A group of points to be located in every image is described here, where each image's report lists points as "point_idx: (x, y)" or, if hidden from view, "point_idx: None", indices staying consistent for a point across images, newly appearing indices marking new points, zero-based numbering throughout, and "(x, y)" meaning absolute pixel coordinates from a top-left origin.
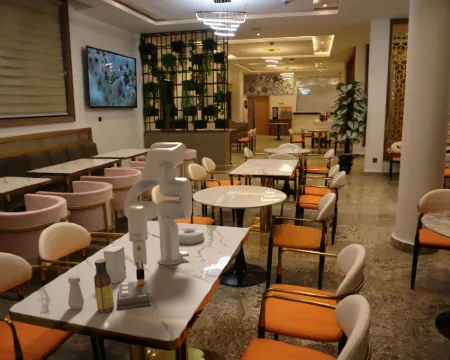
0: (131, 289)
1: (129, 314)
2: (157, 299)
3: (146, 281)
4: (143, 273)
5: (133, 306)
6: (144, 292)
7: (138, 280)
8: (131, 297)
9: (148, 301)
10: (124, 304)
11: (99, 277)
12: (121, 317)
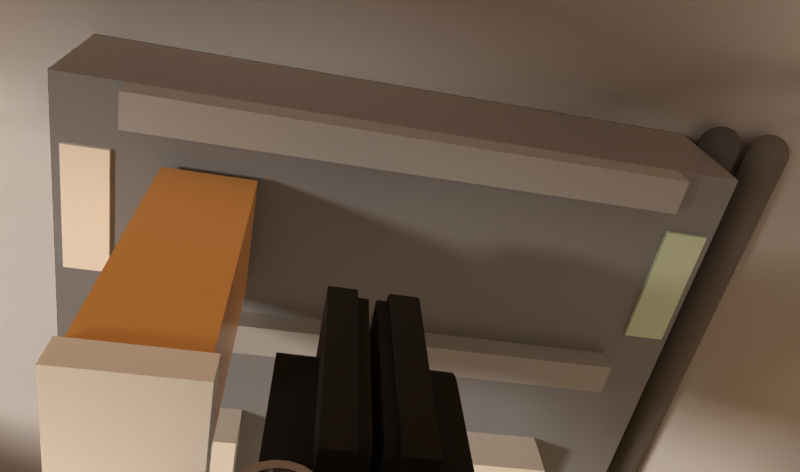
0: None
1: (790, 389)
2: (650, 5)
3: (137, 125)
4: (428, 398)
5: (692, 351)
6: (571, 233)
7: (237, 328)
8: (621, 411)
9: None
10: None
11: None
12: (791, 455)
